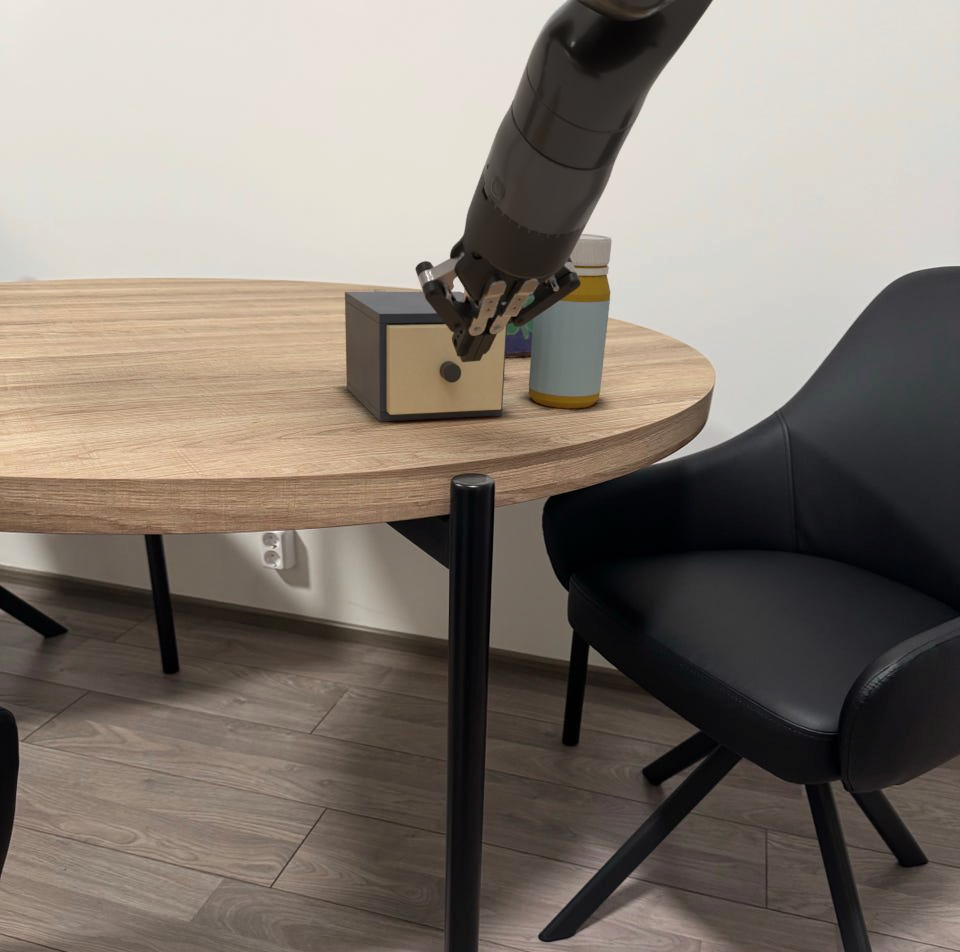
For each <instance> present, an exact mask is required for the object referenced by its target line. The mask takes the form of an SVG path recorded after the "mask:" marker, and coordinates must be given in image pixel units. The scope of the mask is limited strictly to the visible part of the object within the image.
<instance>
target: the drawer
mask: <svg viewBox="0 0 960 952" xmlns="http://www.w3.org/2000/svg"><path fill="white" fill-rule="evenodd" d="M505 333H506V326H505V328H504V330H503V331H502V332H500V333H498V334H497V335H496V337H495V339H494V341H493V344H492V345H491V348H490V350H489V351H488V352H487V353H486V354H483V356H482V358H481V360H480V361H472V362H462V361H461V358H460V356H459V357H458V356H457V354H456V351H455V348H454V345H453V342H452V336H453V334H454V332H452V331H451V330H450V329H449V328H448V327H447V325H446V324H445V323H394V324H388V325H387V412H388V413H389V414H390V415H395V414H417V413H438V412H459V411H480V410H500V409H501V404H502V386H503V368H504V351H505ZM503 387H504V386H503ZM502 405H503V404H502Z"/></svg>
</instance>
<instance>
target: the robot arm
mask: <svg viewBox="0 0 960 952" xmlns="http://www.w3.org/2000/svg"><path fill="white" fill-rule="evenodd" d="M713 2H714V0H565V1H564V2H563V3H562V4H561V5H559V7H557V8H556V9H555V10H554V11H553V12H552V14H551V15H549V17H548V19H546V21H545V22H544V24H543V25H542V27H541V29H540V31H539V32H538V34H537V36H536V39H535V41H534V43H533V45H532V48H531V51H530V52H529V53H530V54H529V56H528V58H527V61H526V64H525V67H524V69H523V72H522V75H521V77H520V79H519V82H518V86H517V88H516V91H515V93H514V96H513V99H512V101H511V102H510V103H511V104H510V106H509V108H508V110H507V111H506V113H505V115H504V116H503V118H502V120H501V122H500V124H499V126H498V128H497V130H496V133H495V135H494V138H493V141H492V144H491V146H490V149H489V152H488V155H487V158H486V161H485V163H484V165H483V168H482V171H481V174H480V177H479V180H478V182H477V185H476V187H475V190H474V193H473V196H472V199H471V201H470V204H469V207H468V209H467V213H466V217H465V218H466V219H465V225H464V231H463V235H462V236H461V238H459V240H458V241H457V242H456V243H455V244H454V245H453V246H452V248H451V250H450V252H449V258H448V259H446V260H444V261H442V262H441V263H438V264H437V265H435V266H434V265H433V264H432V262H430V261H427V260H424V261H421V262H418V264H417V265H416V266H415V273H416V276H417V278H418V281H419V282H418V283H419V284H420V287H421V290H422V292H423V293H424V295H425V298H426V300H427V301H428V302H429V304H430V305H431V306H432V308H433V309H434V310H435V311H436V313H437V314H438V315H439V316H440V318H441V319H442V320H443V322H444V323H445V324H446V325H447V327H448V328H449V329H450V330H451V331H452V332H454V334H453V336H452V342H453V345H454V348H455V351H456V354H457V356H458V357H459V356H460V358H461V361H462V362H472V361H480V360H481V358H482V356H483V354H486V353H487V352H488V351H489V350H490V348H491V345H492V344H493V341H494V339H495V337H496V335H497V334H498V333H500V332H502V331H503V330H504V328H505V326H506V325H507V324H511V323H513V325H514V326H515V327H520V326H523V325H525V324H526V323H528V322H529V321H531V320H532V319H534V318H535V317H536V316H538V315H539V314H541V313H542V312H544V311H545V310H547V309H548V308H550V307H551V306H552V305H554V304H555V303H557V302H558V301H560V300H561V299H563V298H564V297H565V296H567V295H568V294H570V293H571V292H573V291H574V290H576V289H577V288H578V287H579V286H580V284H581V283H580V280H579V278H578V275H577V273H576V270H575V268H574V265H573V263H572V260H571V258H570V255H571V253H572V251H573V249H574V247H575V245H576V244H577V242H578V240H579V238H580V236H581V234H583V232H584V230H585V229H586V226H587V224H588V223H589V221H590V219H591V217H592V215H593V213H594V211H595V209H596V207H597V205H598V203H599V201H600V200H601V198H602V196H603V194H604V192H605V189H606V187H607V185H608V183H609V181H610V178H611V175H612V172H613V169H614V166H615V164H616V161H617V158H618V157H619V154H620V153H621V151H622V148H623V146H624V144H625V142H626V141H627V138H628V136H629V135H630V132H631V130H632V129H633V127H634V124H635V123H636V121H637V119H638V117H639V116H640V113H641V111H642V109H643V106H644V104H645V102H646V100H647V98H648V95H649V93H650V91H651V89H652V87H653V86H654V84H655V83H656V82H657V80H658V78H659V77H660V76H661V74H662V73H663V72H664V69H665V68H666V67H667V66H668V64H669V63H670V61H671V60H672V59H673V57H674V56H675V55H676V54H677V52H678V51H679V50H680V49H681V47H682V45H683V44H684V43H685V41H687V39H688V37H689V35H691V33H692V32H693V30H694V29H695V27H696V26H697V24H698V23H699V22H700V20H701V19H702V18H703V16H704V15H705V13H706V12H707V10H708V9H709V7H710V6H711V4H712V3H713ZM455 279H458V280H459V282H460V283H461V284H462V287H463V289H464V291H463V293H464V294H463V298H462V301H461V302H460V301H457V300H456V297H455V296H454V294H453V293H452V292H453V289H454V287H455V285H454V281H455ZM530 294H533V295H534V301H533V302H532V303H530V304H529V305H527V306H526V307H525V308H524V306H523V305H524V303H525V301H526V300H527V298H528V296H529V295H530Z"/></svg>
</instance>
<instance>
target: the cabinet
mask: <svg viewBox="0 0 960 952" xmlns="http://www.w3.org/2000/svg"><path fill="white" fill-rule="evenodd" d="M452 293H453V294H454V296H455V297H456V300H457V301H460V302H461V301H462V298H463V294H464V292H462V291H452ZM344 319H345V322H344V324H345V369H346V370H345V371H346V374H345V375H346V390H347V391H348V392H350V394H351V395H353V397H354V398H356V399H357V400H358V401H359V402H360V404H362V405H363V407H364V408H365V409H366V410H367V411H369V413H371V415H373V416H374V418H376V419H377V420H378V421H379V422H380V423H381V422H404V421H405V422H406V421H423V420H442V419H446V420H447V419H462V418H483V417H486V418H487V417H501V416H503V403H504V383H505V367H506V357H505V351H506V334H507V325H506V333H505V351H504V368H503V386H502V404H501V409H500V410H480V411H459V412H438V413H417V414H395V415H390V414H389V413H388V412H387V325H388V324H394V323H444V322H443V320H442V319H441V318H440V316H439V315H438V314H437V313H436V311H435V310H434V309H433V308H432V306H431V305H430V304H429V302H428V301H427V300H426V298H425V295H424V293H423V291H386V292H375V291H345V292H344Z"/></svg>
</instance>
